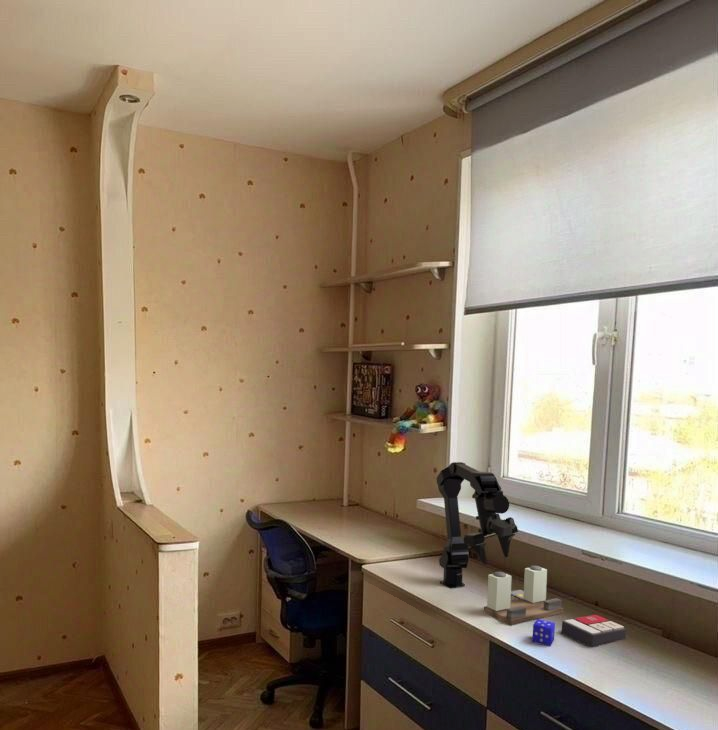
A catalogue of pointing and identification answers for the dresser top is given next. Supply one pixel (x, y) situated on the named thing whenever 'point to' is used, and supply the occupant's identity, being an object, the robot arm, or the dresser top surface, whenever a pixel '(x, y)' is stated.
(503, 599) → the button
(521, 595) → the card
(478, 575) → the dresser top surface
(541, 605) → the wooden base plate
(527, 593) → the button
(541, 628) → the die
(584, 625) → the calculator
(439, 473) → the robot arm
